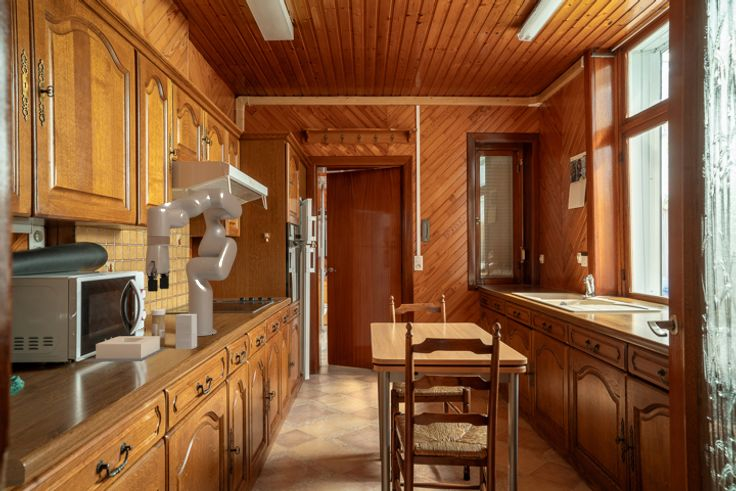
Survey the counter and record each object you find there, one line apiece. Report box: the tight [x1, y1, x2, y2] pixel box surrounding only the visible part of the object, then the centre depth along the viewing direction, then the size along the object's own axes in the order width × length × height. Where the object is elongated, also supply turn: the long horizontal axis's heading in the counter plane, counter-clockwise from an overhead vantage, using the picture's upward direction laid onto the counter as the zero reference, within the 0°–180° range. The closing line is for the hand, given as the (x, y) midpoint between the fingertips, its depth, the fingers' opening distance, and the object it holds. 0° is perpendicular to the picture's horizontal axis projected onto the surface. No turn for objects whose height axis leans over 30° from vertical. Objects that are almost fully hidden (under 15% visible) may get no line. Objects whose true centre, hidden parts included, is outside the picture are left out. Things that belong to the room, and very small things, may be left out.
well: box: [95, 335, 161, 359], centre depth 156 cm, size 14×14×4 cm
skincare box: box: [175, 313, 198, 350], centre depth 167 cm, size 6×4×12 cm
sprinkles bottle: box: [150, 308, 166, 348], centre depth 170 cm, size 5×5×14 cm
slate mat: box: [82, 347, 169, 363], centre depth 155 cm, size 20×18×1 cm
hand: (158, 290), depth 169 cm, fingers open, 9 cm apart
